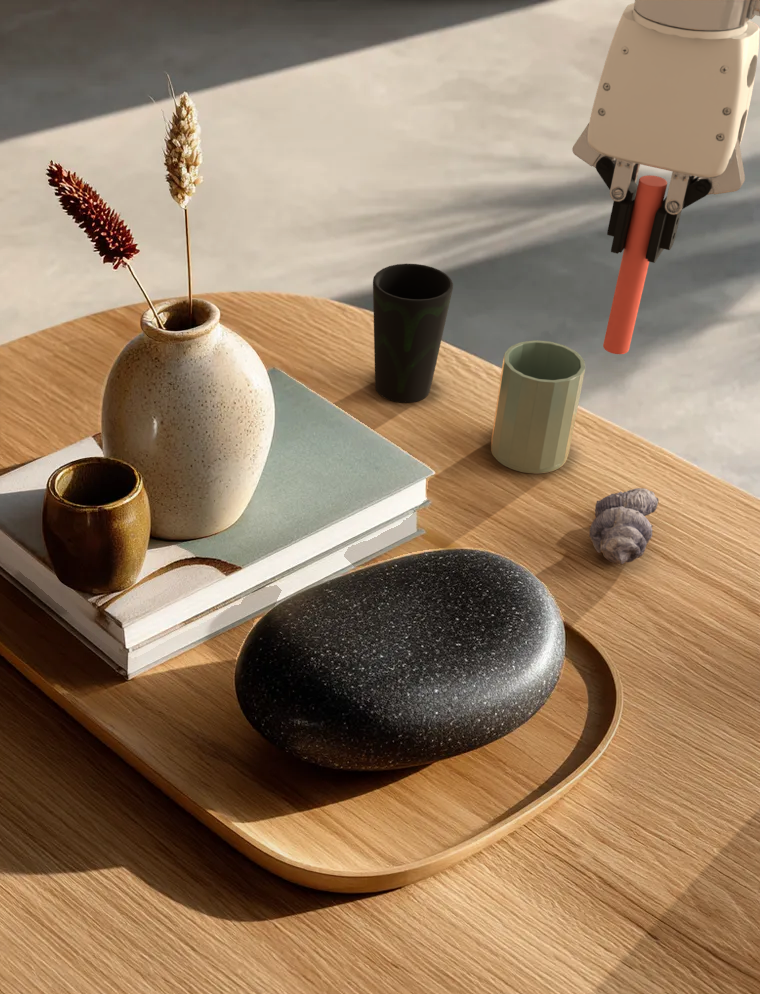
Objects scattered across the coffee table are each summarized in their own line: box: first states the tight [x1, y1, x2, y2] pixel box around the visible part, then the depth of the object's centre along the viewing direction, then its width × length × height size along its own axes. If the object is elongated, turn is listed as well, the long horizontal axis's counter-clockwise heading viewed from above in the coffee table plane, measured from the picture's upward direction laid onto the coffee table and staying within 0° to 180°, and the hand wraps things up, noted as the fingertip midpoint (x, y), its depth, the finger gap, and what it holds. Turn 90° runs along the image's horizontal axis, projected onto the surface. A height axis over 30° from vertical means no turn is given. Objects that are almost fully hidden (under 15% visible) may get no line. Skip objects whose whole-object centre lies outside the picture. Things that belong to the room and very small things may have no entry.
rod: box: [602, 174, 668, 355], centre depth 101 cm, size 2×2×14 cm
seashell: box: [588, 487, 659, 565], centre depth 114 cm, size 5×5×10 cm
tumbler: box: [490, 339, 586, 475], centre depth 123 cm, size 7×7×10 cm
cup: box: [372, 263, 454, 404], centre depth 131 cm, size 8×8×12 cm
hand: (637, 248), depth 100 cm, fingers closed on rod, 2 cm apart
